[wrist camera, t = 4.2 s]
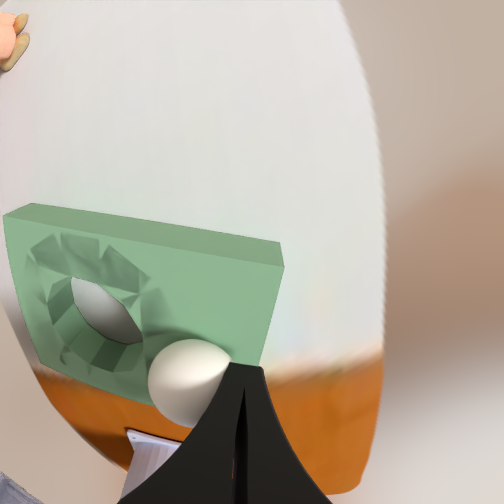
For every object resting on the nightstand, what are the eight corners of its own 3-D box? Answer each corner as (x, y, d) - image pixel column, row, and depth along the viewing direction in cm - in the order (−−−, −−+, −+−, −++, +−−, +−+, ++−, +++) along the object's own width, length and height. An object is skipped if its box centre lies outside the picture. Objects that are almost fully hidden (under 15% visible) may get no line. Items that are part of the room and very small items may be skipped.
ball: (248, 413, 11) (195, 459, 7) (187, 374, 12) (131, 405, 9) (268, 352, 10) (205, 399, 7) (196, 313, 11) (127, 338, 8)
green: (243, 392, 15) (240, 423, 13) (57, 342, 15) (40, 363, 13) (279, 242, 12) (284, 267, 9) (31, 203, 11) (2, 215, 9)
